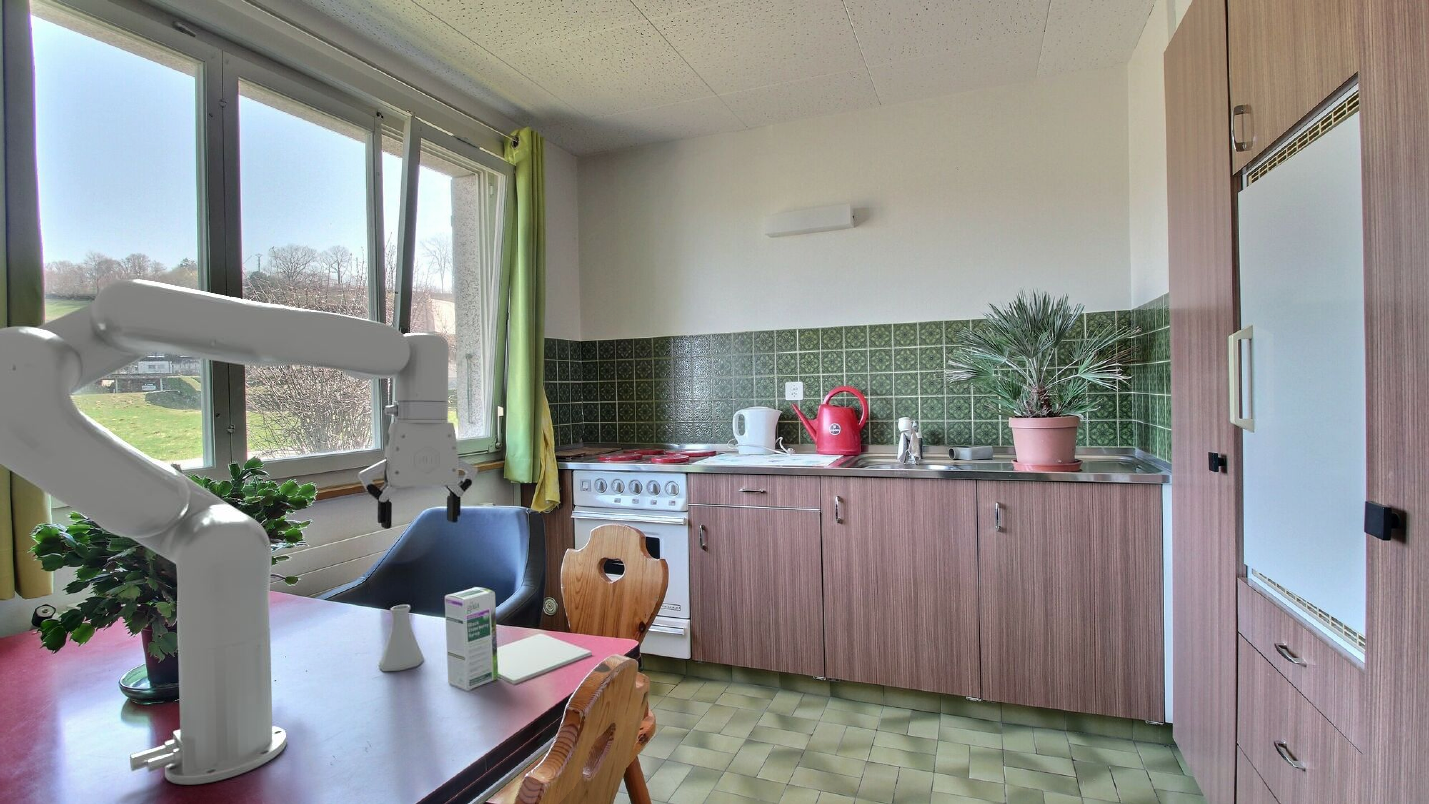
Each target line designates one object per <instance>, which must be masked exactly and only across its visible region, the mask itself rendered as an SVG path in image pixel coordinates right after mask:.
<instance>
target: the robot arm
mask: <svg viewBox="0 0 1429 804" xmlns="http://www.w3.org/2000/svg"><path fill="white" fill-rule="evenodd" d="M449 347H450V346H449V342H448V340H447V339H446V337H444V336H442V335H439V334H433V333H432V334H431V333H425V332H424V333H420V332H416V333H415V332H414V333H413V332H412V333H405V334H403V333H402V332H401V331H400V330H399V329H397V328H396V327H394V326H392V325H390V324H387V323H383V322H379V321H375V320H370V319H364V318H360V317H354V316H349V315H344V314H341V313H335V312H334V313H333V312H327V311H319V310H314V309H313V310H312V309H305V308H297V307H291V306H285V305H280V304H272V303H264V302H259V301H254V300H253V301H252V300H247V299H241V298H238V297H232V296H231V297H230V296H226V295H221V294H216V293H211V292H208V291H207V292H206V291H202V290H196V289H192V288H187V287H182V286H181V287H180V286H175V285H171V284H166V283H162V282H157V281H150V280H143V279H121V280H117V281H114V282H112V283H110V284H108V285H106V286H105V287H104V288H102V290H100V292H98V293H97V294H96V296H95V298H94V300H93V301H91V302H90V303H88V304H87V305H83V307H80V308H78V309H76V310H74V311H72V312H69V313H66V314H64V315H63V316H60V317H58V318H56V319H52V320H51V321H48V322H46V323H44V324H41V325H39V326H37V327H32V326H10V327H2V328H0V465H1V466H3V467H5V468H6V469H7V470H10V471H11V472H13V473H15V474H16V475H18V476H19V477H21V478H23V479H24V480H26V481H28V482H29V483H31V484H32V485H34V486H36V487H37V488H39V489H41V490H42V491H43V492H45V493H46V494H48V495H49V496H51V497H53V498H55V499H56V500H58V501H60V502H61V503H63V504H65V505H67V506H69V508H71V509H73V510H75V511H77V512H78V513H81V514H82V515H83V516H84V517H86V518H88V519H89V520H91V521H93V522H94V523H95V524H96V525H97V526H99V527H100V528H101V529H103V530H105V531H106V532H109V533H111V534H112V535H113V534H114V535H116V536H119V537H124V538H128V539H131V540H133V541H135V542H137V543H138V544H140V545H142V546H143V547H144V548H147V549H148V550H151V551H153V552H154V553H156V554H157V555H160V556H162V557H163V558H164V559H166V560H169V561H170V562H171V563H173V564H175V567H176V583H177V586H176V587H177V592H176V593H177V594H176V595H177V597H176V598H177V599H176V600H177V601H176V618H177V619H176V620H177V623H176V626H177V627H176V631H177V633H176V635H177V650H178V652H177V653H178V654H177V656H178V658H177V659H178V690H179V693H178V694H179V696H178V697H179V729H177V730H174V731H173V732H172V733H173V734H172V735H173V737H172V739H169V740H166V741H164V742H163V745H160V746H157V747H153V748H151V749H150V748H148V749H144V750H142V751H139V752H136V753H132V754H130V756H129V763H130V770H131V772H134V771H138V770H140V769H143V768H147V772H148V773H150V772H153V771H157V770H159V769H162V768H163V767H164V777H165V779H166V780H167V781H169V782H171V783H173V784H177V785H187V786H188V785H202V784H207V783H214V782H218V781H222V780H226V779H229V778H232V777H236V776H239V775H242V774H244V773H247V772H249V771H251V770H254V769H256V768H260V766H262V765H264V764H266V763H267V762H269V761H271V760H272V759H274V758H275V757H277V756H278V755H279V754H280V753H281V752H283V750H284V749H285V747H286V746H287V743H288V742H287V740H288V739H287V738H288V737H287V736H288V735H287V733H286V730H284V729H283V728H281V727H279V726H273V700H272V699H273V698H272V697H273V696H272V695H273V694H272V691H273V690H272V688H273V687H272V655H271V654H272V653H271V651H272V650H271V649H272V647H271V627H270V626H271V623H270V592H271V591H270V589H271V588H270V587H271V585H270V584H271V573H272V557H273V555H272V546H271V541H270V537H269V536H268V533H267V532H266V530H265V528H264V527H263V526H262V524H261V523H260V522H258V521H257V519H255V518H254V517H251V516H249V515H248V514H246V513H244V512H242V511H241V510H239V509H238V508H236V507H234V505H233V506H232V505H231V504H229V503H228V502H226V501H225V500H224V499H222V498H220V497H219V496H218V495H215V494H213V493H212V492H211V491H209V490H208V489H206V488H205V487H204V486H201V485H200V484H199V483H197V482H195V481H194V480H193V479H191V478H190V477H188V476H186V475H185V474H183V473H182V472H180V471H179V470H178V469H175V468H174V467H173V466H172V465H170V464H168V463H166V462H164V461H162V460H159V459H156V458H152V457H150V456H149V455H147V454H145V453H144V452H142V451H140V450H139V449H137V448H136V447H134V446H133V445H131V444H129V443H127V441H124V440H123V439H121V438H120V437H118V436H117V435H115V434H114V433H113V432H112V431H110V430H109V429H107V428H106V427H104V426H103V425H101V424H100V423H98V422H97V421H95V420H94V419H93V418H90V417H89V415H86V414H85V413H83V412H82V411H81V409H79V407H77V405H76V404H75V403H74V401H73V399H72V396H71V395H72V394H74V393H76V392H78V391H81V390H82V389H84V388H87V387H88V386H90V385H92V384H94V383H96V382H99V381H100V380H102V379H104V378H106V377H108V376H111V375H113V374H115V373H117V372H119V371H121V370H122V369H125V368H127V367H130V366H131V365H133V364H135V363H137V362H139V361H141V360H142V359H144V358H146V357H147V356H148V357H149V355H151V354H153V353H160V354H167V355H173V356H181V357H188V358H196V359H203V360H209V361H210V360H211V361H217V362H223V363H229V364H236V365H243V366H251V367H252V366H254V367H280V366H299V367H301V366H302V367H313V368H314V367H315V368H322V369H323V368H324V369H332V370H340V371H341V372H343V374H345V375H347V376H348V377H350V378H353V379H355V380H363V381H370V380H382V379H383V380H384V379H395V381H394V383H395V385H394V386H395V390H394V392H395V393H394V394H395V395H394V396H395V397H394V399H395V401H394V402H393V404H391V405H385V406H384V414H385V415H386V416H387V415H388V416H392V417H393V419H394V422H390V423H389V427H388V431H387V436H386V442H385V448H384V449H385V450H384V458H383V460H381V461H379V462H377V463H375V464H373V465H371V466H369V467H367V468H365V469H363V470H361V471H359V472H358V473H357V477H358V479H359V481H360V482H361V484H362V486H363V487H364V490H365V491H366V492H367V493H368V494H369V495H370V496H371V497H372V498H374V499H375V500H377V523H378V524H380V525H381V528H383V529H384V530H388V529H391V528H392V525H393V524H392V516H393V515H392V513H393V512H392V511H393V506H392V505H393V504H392V503H393V502H391V501H390V498H391V496H392V495H393V494H394V493H396V491H397V490H398V489H400V490H401V489H402V490H403V489H421V488H437V487H444V488H445V489H446V490H447V491H448V492H449V495H447V497H446V520H447V521H448V522H451V523H458V521H459V520H458V518H459V517H460V516H461V499H462V498H461V497H463V496H464V494H465V492H466V491H467V490H468V489H469V488H470V487H471V486H472V484H473V481H475V480H474V479H475V478H476V475H477V474H478V471H479V468H477V467H476V466H474V465H472V464H470V463H467V462H466V461H464V460H462V459H459V455H458V454H459V453H458V442H457V436H456V430H455V425H454V423H453V422H448V419H449V418H448V417H449V416H448V415H449V361H450V360H449V358H450V357H449V351H450V349H449ZM459 470H461V471H463V472H464V473H465V474H464V476H463V478H462V479H461V480H460V481H459V483H458V480H459V473H460V472H459ZM380 473H382V474H383V475H382V476H383V477H382V479H383V483H384V484H383V485H382V487H381V488H380V487H378V486H377V485H376V484H375V483H374V481H373V479H372V478H373V477H374V476H375V475H378V474H380Z"/></svg>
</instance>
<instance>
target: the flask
mask: <svg viewBox="0 0 1429 804" xmlns="http://www.w3.org/2000/svg"><path fill="white" fill-rule="evenodd" d="M410 610H411V605H410V604H399V605H395V606H393V607H391V608H390V612H391V615H392V616H391V619H392V621H391V626H390V632H389V634H388V638H387V641H386V644H385V647H384V650H383V652H382V653H383V654H382V655H381V658H380V662H379V665H378V667H379V668H380V670H381V671H382V672H394V671H395V672H396V671H397V672H398V671H404V670H407V669H411V668H415V667H418V666H420V664H422V662H423V661H425V657H424V654H423V653H422V650H421V648H420V646H419V644H418V642H417V639H416V636H415V634H414V631H413V629H412V625H411V621H410Z"/></svg>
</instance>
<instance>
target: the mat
mask: <svg viewBox="0 0 1429 804" xmlns="http://www.w3.org/2000/svg"><path fill="white" fill-rule="evenodd" d="M589 656H592V651H591V650H588V649H586V648H583V647H580V646H577V645H575V644H572V643H568V642H566V641H563V640H560V639H558V638H554V637H553V636H550V635H546V634H544V633H538V634H535V635H531V636H529V637H528V636H527V637H526V638H523V639H520V640H516V641H513V642H511V643H507V644H504V645H501V646H497V660H498V679H499V678H500V679H501V680H503V681H505V682H508V683H509V684H513V685H517V684H519V683H521V682H524V681H527V680H529V679H532V678H534V677H537V676H541V675H542V674H545V673H548V672H550V671H553V670H556V669H558V668H561V667H564V666H567V665H569V664H571V663H574V662H577V661H579V660H581V659H584V658H587V657H589Z"/></svg>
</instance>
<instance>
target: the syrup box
mask: <svg viewBox="0 0 1429 804" xmlns="http://www.w3.org/2000/svg"><path fill="white" fill-rule="evenodd" d="M444 610H445V615H444V617H445V637H446V642H445V643H446V662H447V663H446V664H447V682H448V684H449V685H452V684H453V685H454V687H456V686H457V687H456V688H457V689H458V688H459V689H460V690H464V691H466V692H469V691H471V690H472V689H476V688H477V687H481V686H483V685H485V684H488V683H491V682H494V681H496V680H498V679H499V677H498V660H497V648H498V638H497V636H498V635H497V616H496V615H497V609H496V593H495V591H494V590H491V589H489V588H485V587H479V586H478V587H477V586H474V587H472V588H469V589H464V590H463V591H462V590H461V591H458V592H454V593H450V594H446V595H444ZM453 685H452V686H453Z"/></svg>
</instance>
